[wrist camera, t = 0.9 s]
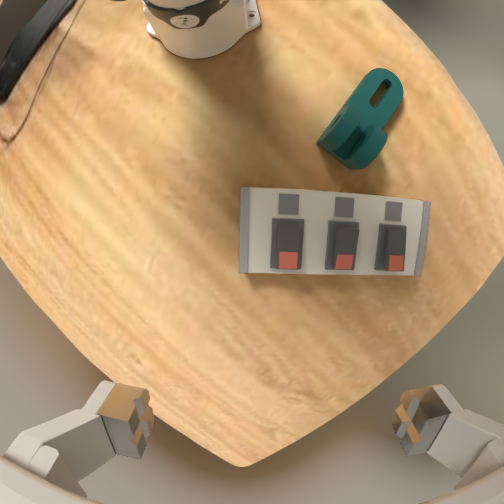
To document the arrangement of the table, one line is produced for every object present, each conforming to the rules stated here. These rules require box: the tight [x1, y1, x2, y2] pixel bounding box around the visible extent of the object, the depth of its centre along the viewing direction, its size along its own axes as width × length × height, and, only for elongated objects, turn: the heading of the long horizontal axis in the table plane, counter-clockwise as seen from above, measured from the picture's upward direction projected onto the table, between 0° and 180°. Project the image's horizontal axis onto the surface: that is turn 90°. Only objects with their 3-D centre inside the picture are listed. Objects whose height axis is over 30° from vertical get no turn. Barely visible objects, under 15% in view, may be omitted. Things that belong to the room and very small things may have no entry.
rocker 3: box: [384, 229, 407, 271], centre depth 40 cm, size 6×3×1 cm, turn 178°
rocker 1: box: [276, 224, 301, 270], centre depth 40 cm, size 6×3×1 cm, turn 178°
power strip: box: [239, 187, 431, 276], centre depth 43 cm, size 12×29×5 cm, turn 88°
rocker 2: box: [331, 226, 359, 270], centre depth 40 cm, size 6×3×1 cm, turn 178°
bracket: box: [316, 68, 403, 170], centre depth 37 cm, size 18×7×8 cm, turn 145°
